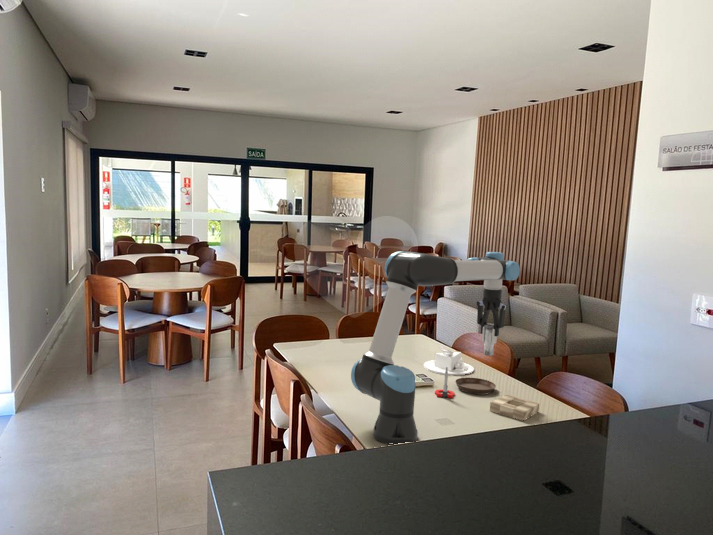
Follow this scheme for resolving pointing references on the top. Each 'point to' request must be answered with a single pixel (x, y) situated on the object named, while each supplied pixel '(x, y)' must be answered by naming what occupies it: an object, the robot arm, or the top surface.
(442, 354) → the dish
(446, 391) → the tow hook
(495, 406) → the oak hitch block
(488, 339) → the steel pin
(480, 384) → the plant saucer
